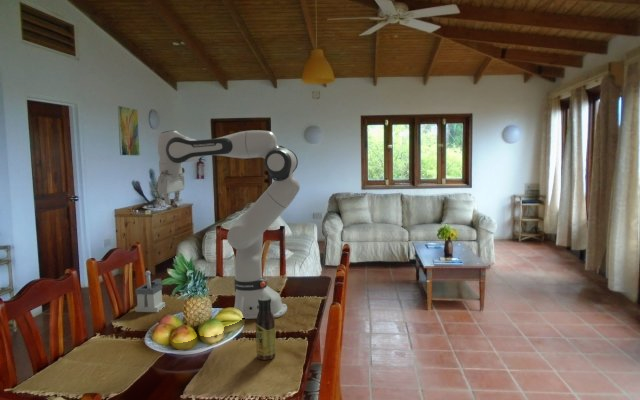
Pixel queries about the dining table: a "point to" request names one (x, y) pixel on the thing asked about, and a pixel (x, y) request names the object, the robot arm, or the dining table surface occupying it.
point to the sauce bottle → (265, 330)
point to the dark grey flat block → (154, 288)
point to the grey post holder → (149, 299)
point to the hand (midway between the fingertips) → (172, 202)
